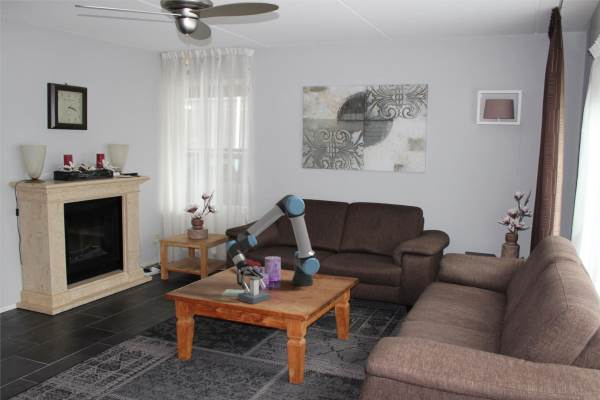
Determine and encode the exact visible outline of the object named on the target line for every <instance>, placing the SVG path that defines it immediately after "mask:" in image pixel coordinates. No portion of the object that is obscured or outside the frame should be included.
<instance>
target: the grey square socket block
mask: <svg viewBox="0 0 600 400" xmlns="http://www.w3.org/2000/svg"><path fill="white" fill-rule="evenodd" d="M237 300H239V301H243V302H245V303H248V304H252V305H256V304H258V303H262V302H266V301H271V294H270V293H268V292H264V291H260V290H259V294H258V295H255V296H253V295H250V292H249V293H248V294H247V293H246V291H244V293H240V294H238V297H237Z"/></svg>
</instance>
